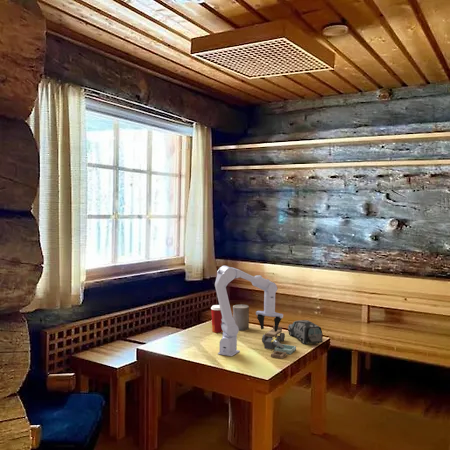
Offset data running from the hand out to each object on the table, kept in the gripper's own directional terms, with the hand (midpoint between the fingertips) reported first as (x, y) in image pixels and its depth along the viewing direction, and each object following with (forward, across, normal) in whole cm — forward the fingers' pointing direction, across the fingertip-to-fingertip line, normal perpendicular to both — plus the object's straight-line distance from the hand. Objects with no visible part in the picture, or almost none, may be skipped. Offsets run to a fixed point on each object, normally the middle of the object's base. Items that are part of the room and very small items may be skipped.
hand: (269, 330), depth 259 cm
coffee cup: (+10, +39, -16) cm, 43 cm away
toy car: (+10, -11, -26) cm, 30 cm away
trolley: (+10, +2, -13) cm, 17 cm away
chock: (+10, 0, -3) cm, 11 cm away
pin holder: (+10, -9, +9) cm, 16 cm away
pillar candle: (+10, +30, -29) cm, 43 cm away
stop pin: (+8, -8, +1) cm, 12 cm away
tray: (+10, -9, 0) cm, 13 cm away
